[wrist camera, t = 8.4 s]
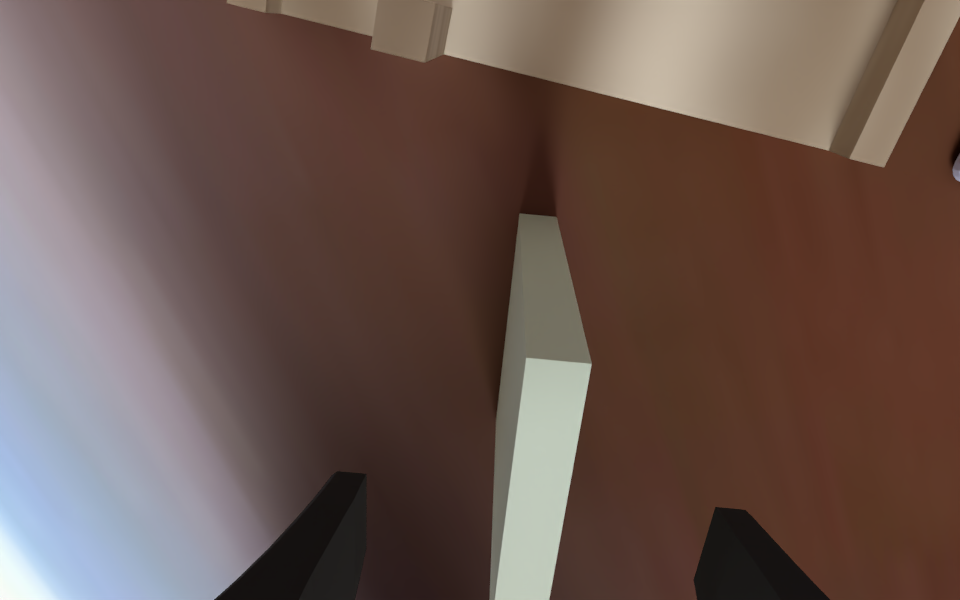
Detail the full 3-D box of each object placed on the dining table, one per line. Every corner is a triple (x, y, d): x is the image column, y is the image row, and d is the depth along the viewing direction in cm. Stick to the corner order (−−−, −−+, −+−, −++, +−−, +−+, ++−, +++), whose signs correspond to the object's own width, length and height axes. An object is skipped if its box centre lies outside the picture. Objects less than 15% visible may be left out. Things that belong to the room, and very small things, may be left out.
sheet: (556, 217, 20) (591, 364, 11) (528, 422, 23) (538, 659, 15) (519, 213, 20) (526, 357, 11) (496, 419, 23) (487, 654, 15)
